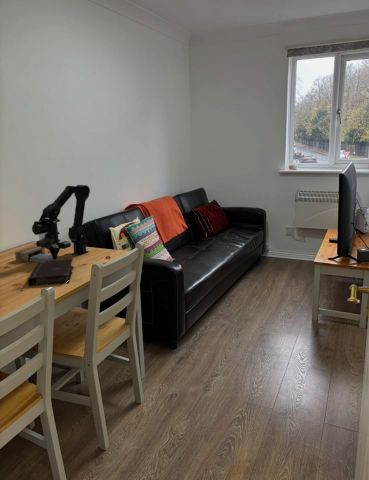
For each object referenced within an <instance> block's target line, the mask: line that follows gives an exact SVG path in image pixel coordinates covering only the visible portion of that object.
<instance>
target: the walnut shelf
mask: <svg viewBox="0 0 369 480" xmlns="http://www.w3.org/2000/svg"><path fill="white" fill-rule="evenodd" d="M45 249H46V248H41V247H39V246H36V244H34V245H31V246H28V247H26V248H23V249H19V250H16V251H14V257H15V261H16V262H19V263H28V262H29V261H30V260H29V258H30V257H33V256H35V255H38V254H46V250H45Z"/></svg>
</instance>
